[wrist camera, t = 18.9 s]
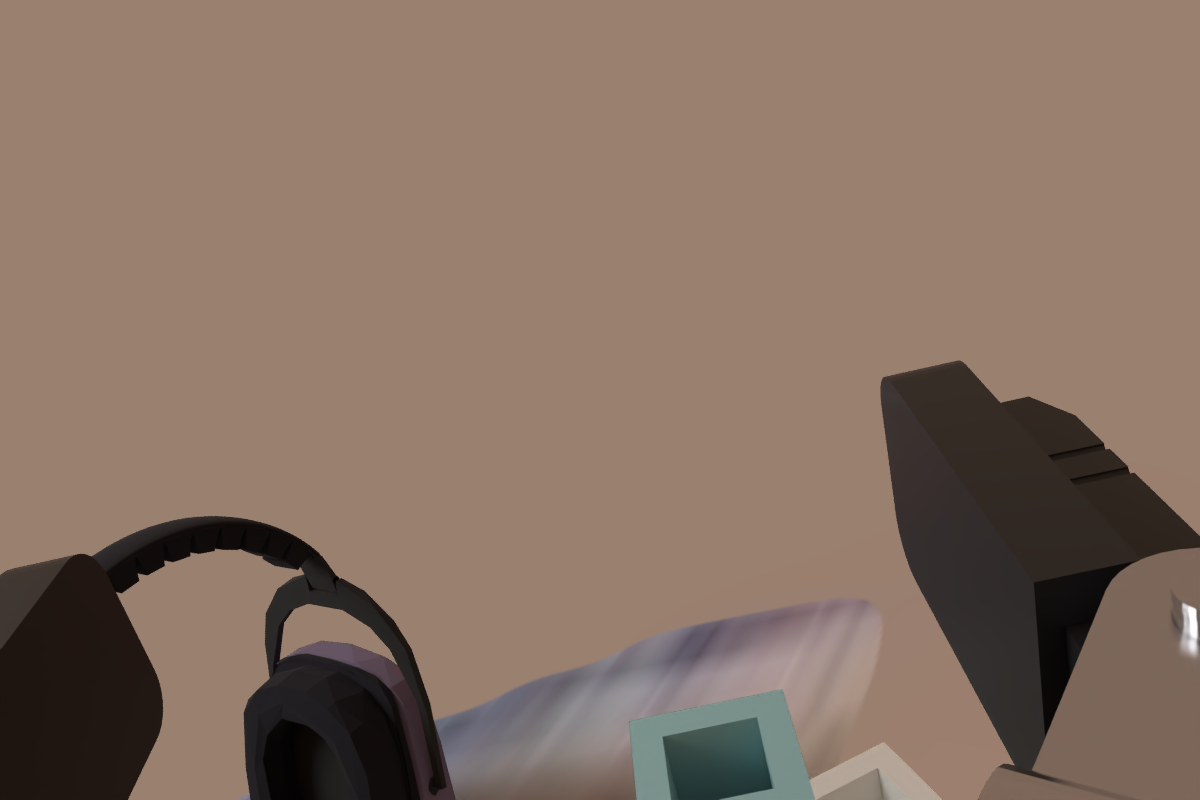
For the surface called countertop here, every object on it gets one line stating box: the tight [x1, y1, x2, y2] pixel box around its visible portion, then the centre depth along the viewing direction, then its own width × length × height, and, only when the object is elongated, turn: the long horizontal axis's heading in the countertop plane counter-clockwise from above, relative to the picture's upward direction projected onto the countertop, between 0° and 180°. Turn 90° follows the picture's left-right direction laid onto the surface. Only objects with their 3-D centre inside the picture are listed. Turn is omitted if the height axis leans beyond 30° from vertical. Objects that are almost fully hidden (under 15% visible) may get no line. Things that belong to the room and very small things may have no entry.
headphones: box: [92, 516, 455, 800], centre depth 40 cm, size 9×17×20 cm, turn 150°
